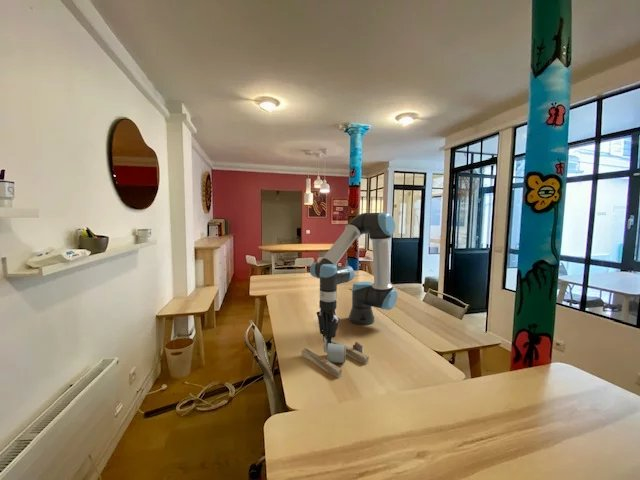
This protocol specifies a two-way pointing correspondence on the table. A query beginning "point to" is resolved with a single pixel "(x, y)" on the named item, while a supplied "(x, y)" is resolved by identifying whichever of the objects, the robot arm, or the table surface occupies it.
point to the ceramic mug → (336, 353)
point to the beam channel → (331, 368)
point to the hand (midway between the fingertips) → (327, 351)
